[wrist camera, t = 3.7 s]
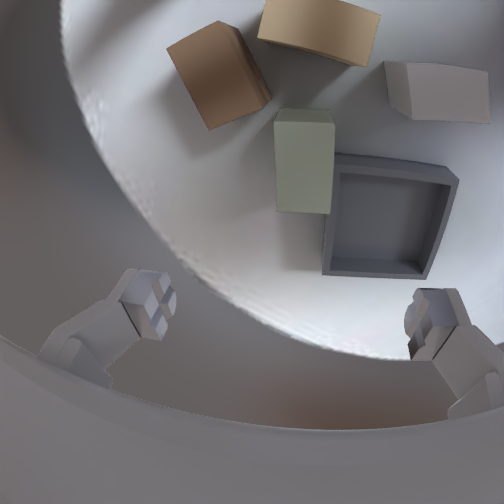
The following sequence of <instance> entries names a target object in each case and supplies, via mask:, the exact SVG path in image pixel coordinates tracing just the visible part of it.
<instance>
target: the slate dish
mask: <svg viewBox="0 0 504 504" xmlns="http://www.w3.org/2000/svg"><path fill="white" fill-rule="evenodd" d="M458 183H459V179H458V178H457V177H456V176H455V175H454V174H453V173H452V172H451V171H450V170H449V169H448V168H447V167H445V166H439V165H434V164H428V163H421V162H415V161H408V160H401V159H393V158H385V157H376V156H366V155H355V154H343V153H334V169H333V184H332V197H331V209H330V214H326V218H325V229H324V239H323V249H322V275H329V276H349V277H370V278H393V279H420V280H426V278H427V276H428V274H429V271H430V269H431V266H432V264H433V261H434V259H435V256H436V253H437V251H438V248H439V245H440V242H441V240H442V237H443V234H444V231H445V228H446V225H447V222H448V219H449V215H450V212H451V209H452V205H453V202H454V198H455V195H456V191H457V187H458Z"/></svg>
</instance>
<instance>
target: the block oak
mask: <svg viewBox="0 0 504 504" xmlns="http://www.w3.org/2000/svg"><path fill="white" fill-rule="evenodd" d="M380 16H381V15H379V14H377V13H374V12H372V11H369V10H367V9H364V8H361V7H358V6H355V5H352V4H349V3H346V2H343V1H340V0H266V2H265V6H264V10H263V14H262V19H261V23H260V27H259V31H258V36H257V38H259V39H261V40H263V41H265V42H267V43H270V44H275V45H280V46H284V47H289V48H293V49H297V50H301V51H305V52H309V53H313V54H316V55H320V56H323V57H327V58H330V59H333V60H337V61H340V62H343V63H346V64H349V65H351V66H360V67H367V64H368V60H369V57H370V53H371V50H372V46H373V42H374V39H375V35H376V31H377V27H378V24H379V20H380Z"/></svg>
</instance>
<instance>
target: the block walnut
mask: <svg viewBox="0 0 504 504" xmlns="http://www.w3.org/2000/svg"><path fill="white" fill-rule="evenodd" d="M166 50H167V52H168V54H169V55H170V57H171V59H172V61H173V63H174V65H175V67H176V69H177V71H178V72H179V74H180V76H181V78H182V80H183V82H184V84H185V86H186V88H187V90H188V91H189V93H190V95H191V97H192V99H193V101H194V103H195V105H196V107H197V109H198V111H199V113H200V115H201V117H202V118H203V120H204V122H205V124H206V126H207V128H208V130H209V131H210V130H212V129H214V128H216V127H219V126H221V125H223V124H226V123H228V122H230V121H233V120H235V119H238V118H240V117H243V116H245V115H248V114H250V113H253V112H255V111H258V110H261V109H263V108H264V107H265V105H266V104H267V103H268V102H269V101H270V100H271V99H272V97H271V95H270V93H269V91H268V88H267V86H266V84H265V82H264V80H263V78H262V76H261V74H260V71H259V69H258V67H257V65H256V63H255V61H254V59H253V57H252V55H251V53H250V51H249V49H248V47H247V45H246V43H245V41H244V39H243V37H242V36H241V34H240V32H239V30H238V29H237V28H235V27H232V26H230V25H228V24H226V23H223V22H221V21H216V22H214V23H212V24H210V25H208V26H206V27H204V28H202V29H200V30H198V31H196V32H195V33H193V34H191V35H189V36H187V37H185V38H184V39H182V40H180V41H178V42H177V43H175V44H173V45H172V46H170V47H168V48H167V49H166Z"/></svg>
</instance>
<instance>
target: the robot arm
mask: <svg viewBox="0 0 504 504" xmlns="http://www.w3.org/2000/svg"><path fill="white" fill-rule="evenodd" d="M170 282H171V279H170V276H169V274H168V273H166V272H160V271H153V270H145V269H135V268H129V269H127V270H126V271H125V272H124V273H123V275H122V276H121V278H120V279H119V281H118V282H117V283H116V285H115V286H114V288H113V289H112V291H111V293H110V294H109V295H108V297H107V298H106V299H102V300H100V301H98V302H97V303H95V304H93V305H92V306H90V307H89V308H87V309H85V310H84V311H82V312H81V313H79V314H77V315H76V316H74V317H73V318H71V319H69V320H68V321H66V322H65V323H63V324H62V325H60V326H58V327H57V328H55V329H54V330H53V332H52V334H51V335H50V336H49V338H48V339H47V341H46V343H45V344H44V346H43V347H42V349H41V351H40V352H39V354H38V356H35V355H33V354H31V353H29V352H27V351H26V350H24V349H22V348H20V347H19V346H17V345H15V344H14V343H12V342H10V341H9V340H7V339H5V338H4V337H2V336H0V504H504V354H503V353H502V351H501V350H500V349H499V348H498V347H497V346H496V345H495V344H494V343H493V342H492V341H491V340H490V339H489V338H488V337H487V336H486V335H485V334H484V333H483V332H482V331H481V330H480V329H479V328H478V327H477V326H475V325H472V324H471V321H470V319H469V316H468V314H467V311H466V309H465V306H464V304H463V301H462V299H461V297H460V294H459V292H458V290H457V289H455V288H443V289H442V288H417V289H416V290H415V292H414V294H413V296H412V297H413V300H414V302H413V303H412V304H410V305H409V306H408V308H407V310H406V313H405V318H404V328H405V333H406V334H407V335H408V336H409V337H410V338H411V339H410V341H409V343H408V348H409V353H410V359H411V361H423V360H432V362H433V364H434V365H435V366H436V368H437V369H438V371H439V372H440V373H441V375H442V376H443V378H444V379H445V381H446V382H447V384H448V385H449V386H450V388H451V389H452V391H453V392H454V394H455V395H456V397H457V398H458V401H457V402H456V403H455V404H454V405H452V406H451V407H450V408H449V410H448V411H447V412H448V420H446V421H441V422H435V423H428V424H422V425H414V426H406V427H396V428H384V429H368V430H310V429H293V428H280V427H270V426H262V425H254V424H246V423H239V422H233V421H227V420H221V419H216V418H211V417H206V416H201V415H197V414H192V413H188V412H184V411H179V410H175V409H171V408H168V407H164V406H160V405H157V404H153V403H150V402H147V401H143V400H140V399H137V398H134V397H131V396H128V395H125V394H122V393H119V392H116V391H114V390H111V389H110V387H111V385H112V382H113V380H112V377H110V375H109V374H108V373H107V372H106V371H105V369H106V368H107V367H108V366H109V365H110V364H111V363H113V362H114V361H115V360H116V359H117V358H118V357H120V356H121V355H122V354H123V353H124V352H125V351H127V350H128V349H129V348H130V347H131V346H133V345H134V344H135V343H136V342H137V341H138V340H139V339H140V337H142V338H147V339H152V340H159V341H162V339H163V336H164V334H165V332H166V330H167V328H168V324H167V320H168V319H169V318H171V317H172V316H173V314H174V311H175V309H176V303H177V300H176V294H175V291H174V290H173V289H172V288H171V287H170V286H169V284H170Z"/></svg>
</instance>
